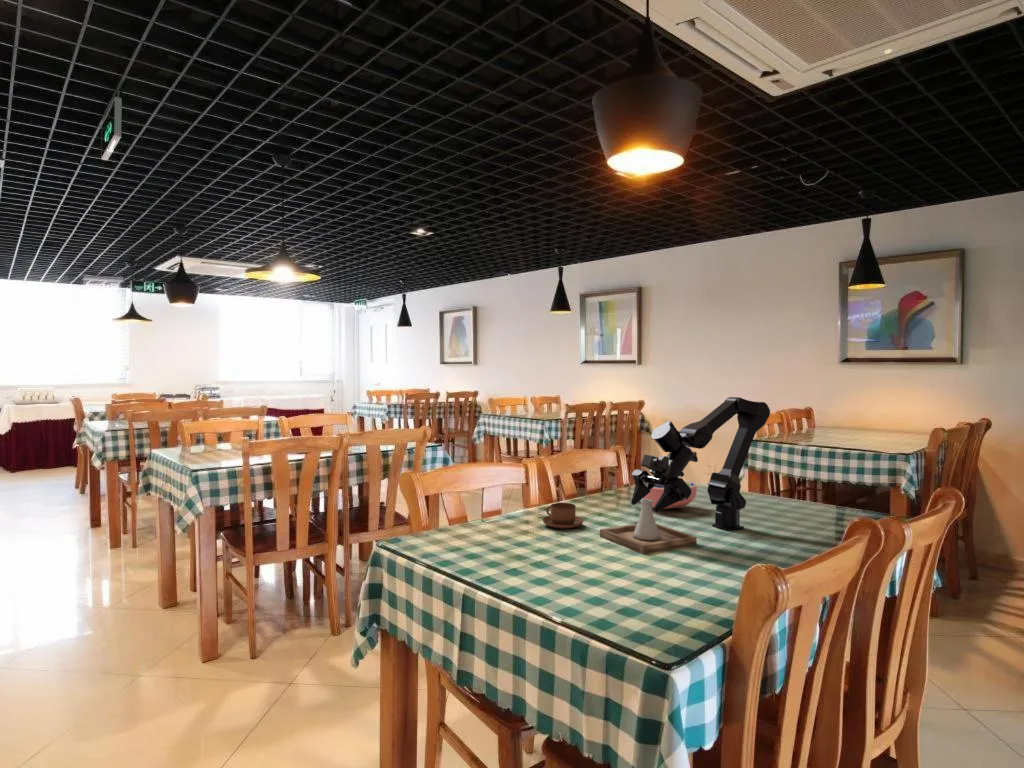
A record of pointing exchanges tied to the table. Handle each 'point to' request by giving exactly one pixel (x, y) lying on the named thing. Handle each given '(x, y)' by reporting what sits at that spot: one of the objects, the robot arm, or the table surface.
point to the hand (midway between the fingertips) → (643, 507)
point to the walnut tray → (665, 542)
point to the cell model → (656, 495)
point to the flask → (646, 523)
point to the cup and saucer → (562, 516)
